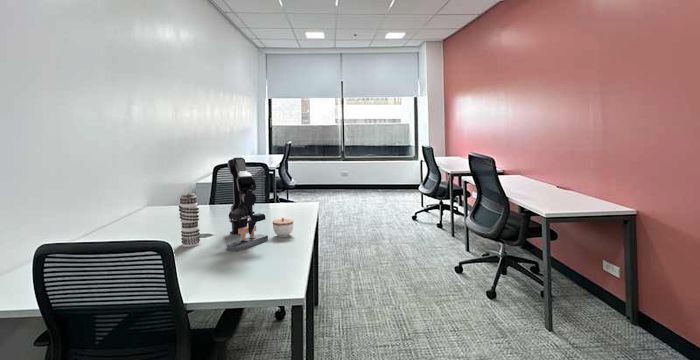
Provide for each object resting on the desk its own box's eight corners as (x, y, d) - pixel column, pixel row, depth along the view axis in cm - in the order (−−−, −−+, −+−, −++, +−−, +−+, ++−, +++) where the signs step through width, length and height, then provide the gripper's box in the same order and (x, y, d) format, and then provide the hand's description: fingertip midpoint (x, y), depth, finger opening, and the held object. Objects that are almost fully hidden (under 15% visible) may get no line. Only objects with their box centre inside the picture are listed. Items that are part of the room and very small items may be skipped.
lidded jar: (284, 239, 215) (284, 221, 214) (268, 236, 220) (268, 218, 219) (297, 234, 224) (297, 217, 223) (282, 232, 229) (281, 215, 228)
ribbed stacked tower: (180, 243, 210) (177, 193, 207) (200, 240, 214) (197, 191, 210) (181, 247, 202) (177, 195, 199) (201, 245, 205) (198, 194, 202)
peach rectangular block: (238, 240, 202) (238, 228, 201) (251, 235, 209) (251, 224, 209) (243, 240, 200) (242, 229, 199) (256, 236, 208) (256, 225, 207)
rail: (226, 249, 197) (226, 244, 197) (258, 238, 216) (258, 234, 216) (236, 251, 194) (235, 246, 194) (268, 240, 213) (267, 235, 213)
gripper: (219, 202, 200) (221, 235, 202) (249, 206, 191) (250, 239, 193) (236, 199, 210) (237, 230, 212) (265, 202, 200) (266, 234, 202)
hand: (247, 233), depth 204 cm, fingers closed on peach rectangular block, 3 cm apart
